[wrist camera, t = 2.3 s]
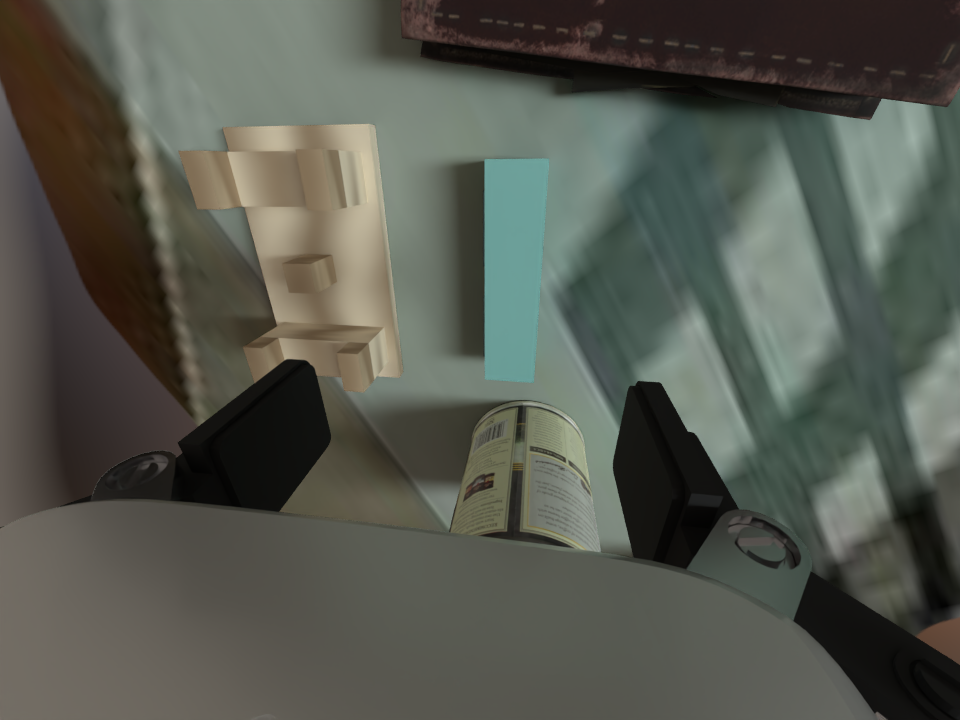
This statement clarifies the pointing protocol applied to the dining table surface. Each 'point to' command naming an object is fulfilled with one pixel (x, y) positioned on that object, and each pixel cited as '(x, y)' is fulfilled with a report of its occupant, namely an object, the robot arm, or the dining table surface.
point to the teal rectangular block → (512, 264)
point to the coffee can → (527, 479)
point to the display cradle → (312, 244)
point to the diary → (711, 46)
